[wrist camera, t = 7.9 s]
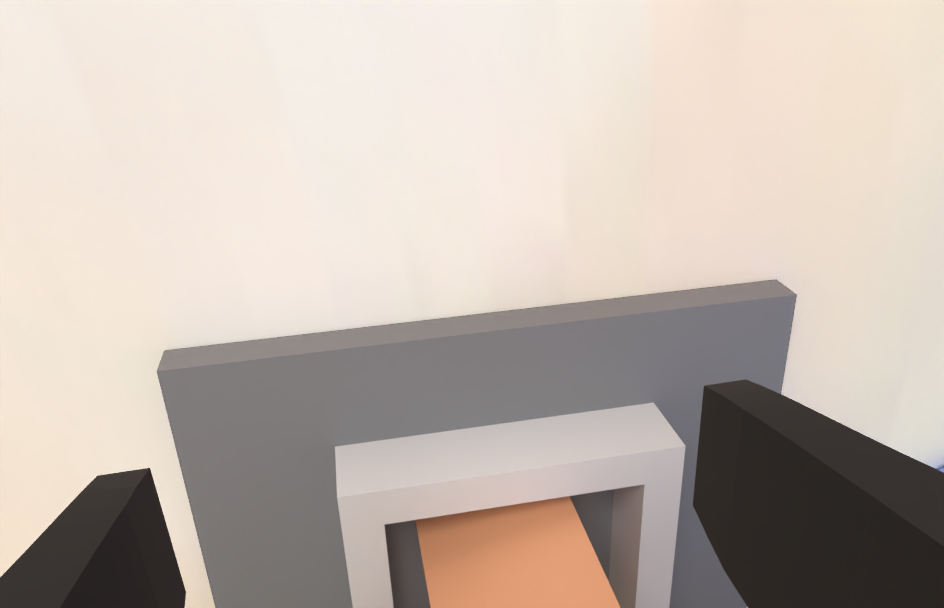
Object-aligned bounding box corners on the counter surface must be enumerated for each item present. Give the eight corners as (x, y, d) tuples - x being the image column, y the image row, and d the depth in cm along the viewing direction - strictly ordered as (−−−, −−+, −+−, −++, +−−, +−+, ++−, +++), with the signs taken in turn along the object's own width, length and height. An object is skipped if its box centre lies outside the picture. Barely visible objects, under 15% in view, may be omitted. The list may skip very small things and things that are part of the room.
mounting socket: (776, 279, 21) (843, 329, 18) (722, 644, 27) (767, 721, 24) (164, 350, 19) (139, 419, 16) (255, 733, 25) (248, 829, 22)
